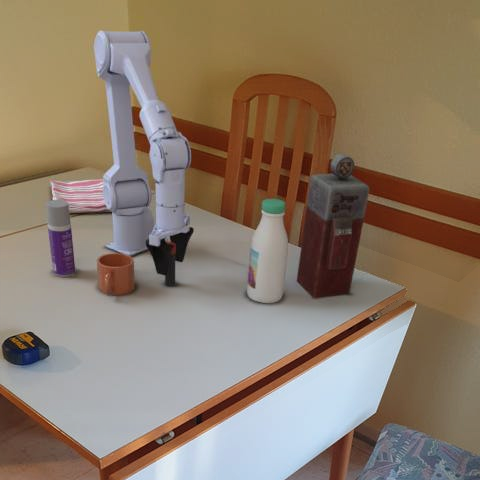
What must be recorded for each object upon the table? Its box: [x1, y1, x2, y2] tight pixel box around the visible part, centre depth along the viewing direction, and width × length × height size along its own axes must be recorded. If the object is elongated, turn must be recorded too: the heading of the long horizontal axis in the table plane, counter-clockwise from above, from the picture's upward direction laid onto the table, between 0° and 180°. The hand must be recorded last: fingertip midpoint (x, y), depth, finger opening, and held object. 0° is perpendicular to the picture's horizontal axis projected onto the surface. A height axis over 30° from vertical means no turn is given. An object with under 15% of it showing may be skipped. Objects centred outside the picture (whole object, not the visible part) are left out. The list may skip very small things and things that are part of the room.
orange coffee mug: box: [96, 252, 136, 297], centre depth 129 cm, size 10×7×6 cm
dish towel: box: [49, 178, 112, 214], centre depth 172 cm, size 17×23×4 cm
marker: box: [164, 241, 176, 287], centre depth 133 cm, size 2×2×9 cm
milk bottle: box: [246, 198, 289, 304], centre depth 128 cm, size 8×8×20 cm
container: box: [45, 199, 76, 278], centre depth 132 cm, size 5×5×15 cm
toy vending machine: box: [296, 153, 370, 299], centre depth 130 cm, size 9×11×28 cm
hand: (170, 267), depth 133 cm, fingers open, 7 cm apart
